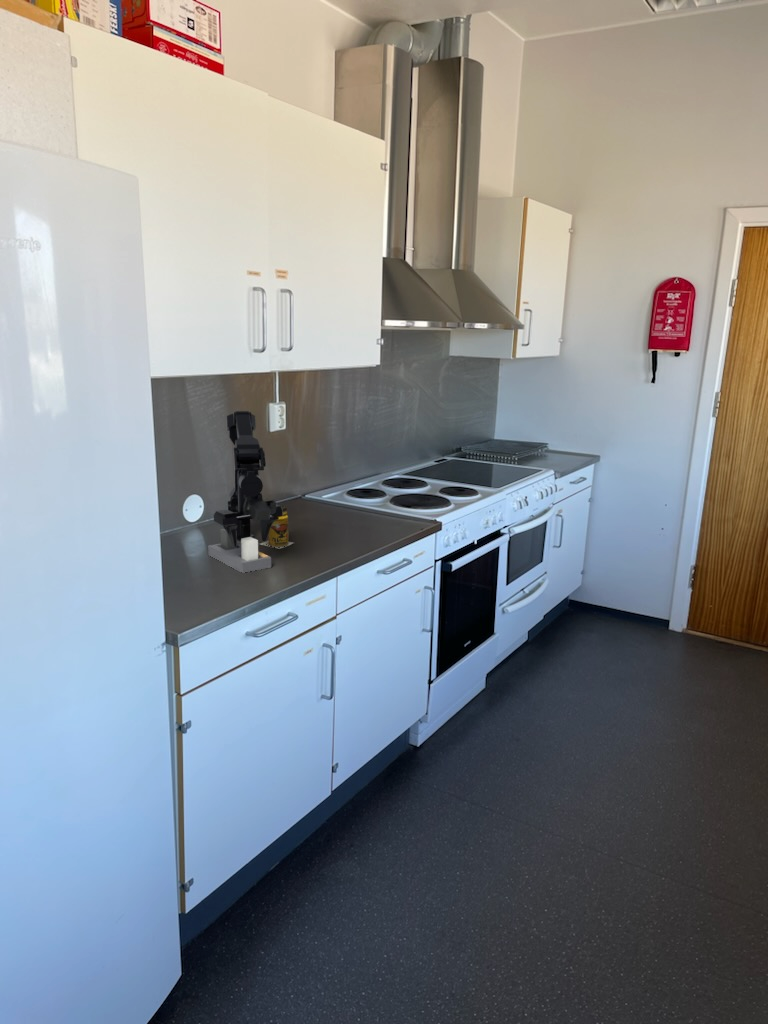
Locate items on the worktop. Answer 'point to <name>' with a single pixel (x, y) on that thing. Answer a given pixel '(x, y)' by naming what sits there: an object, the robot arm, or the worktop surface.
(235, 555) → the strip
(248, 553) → the plug
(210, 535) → the worktop surface
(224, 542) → the dark gray block
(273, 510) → the robot arm
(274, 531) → the condiment
